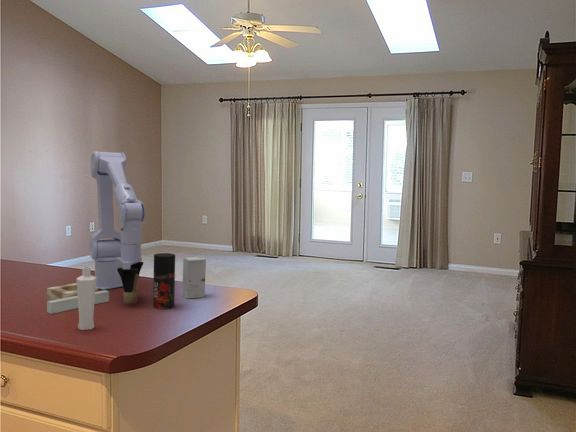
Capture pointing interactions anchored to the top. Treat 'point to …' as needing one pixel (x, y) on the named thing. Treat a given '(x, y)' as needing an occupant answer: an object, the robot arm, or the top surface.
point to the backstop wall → (74, 302)
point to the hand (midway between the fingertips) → (130, 289)
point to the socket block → (63, 291)
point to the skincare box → (194, 277)
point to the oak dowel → (132, 293)
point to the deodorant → (164, 281)
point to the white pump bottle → (86, 298)
